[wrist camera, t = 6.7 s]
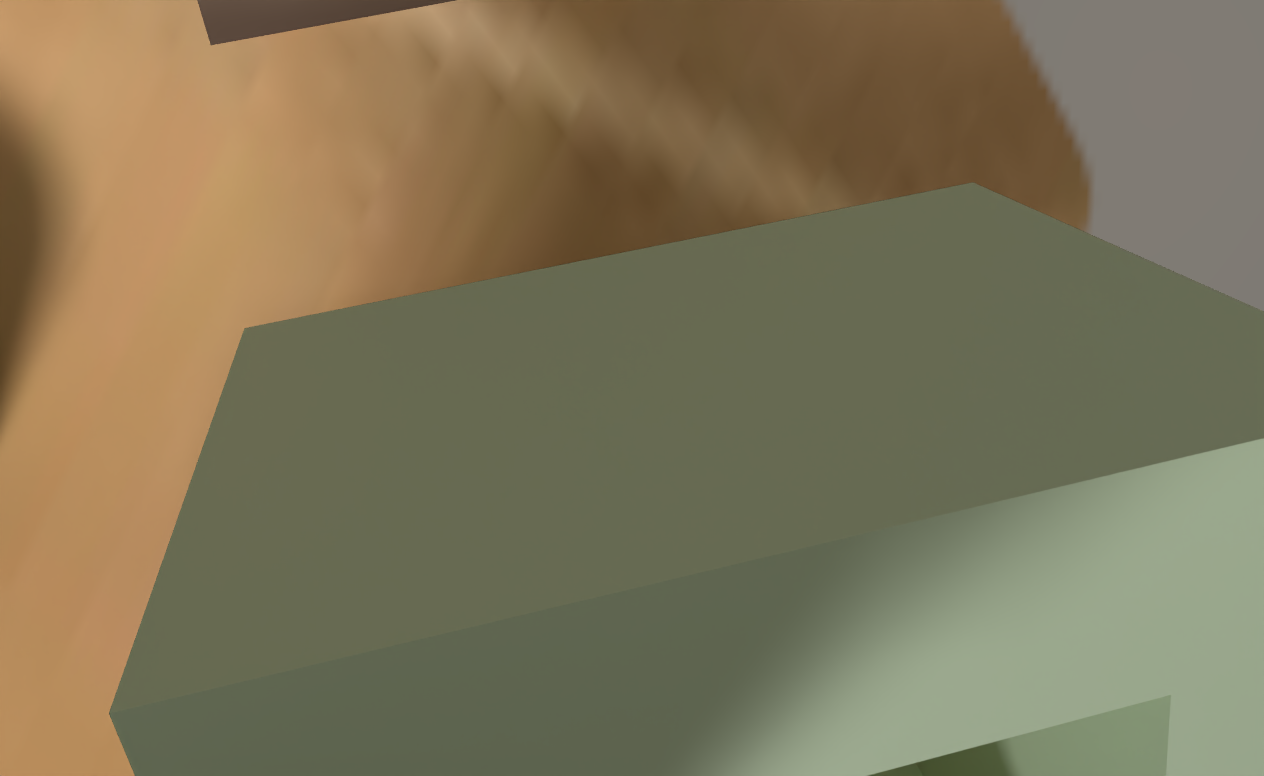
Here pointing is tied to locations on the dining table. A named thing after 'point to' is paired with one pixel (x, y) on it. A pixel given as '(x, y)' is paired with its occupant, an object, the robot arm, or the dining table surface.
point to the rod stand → (288, 15)
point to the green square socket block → (732, 519)
